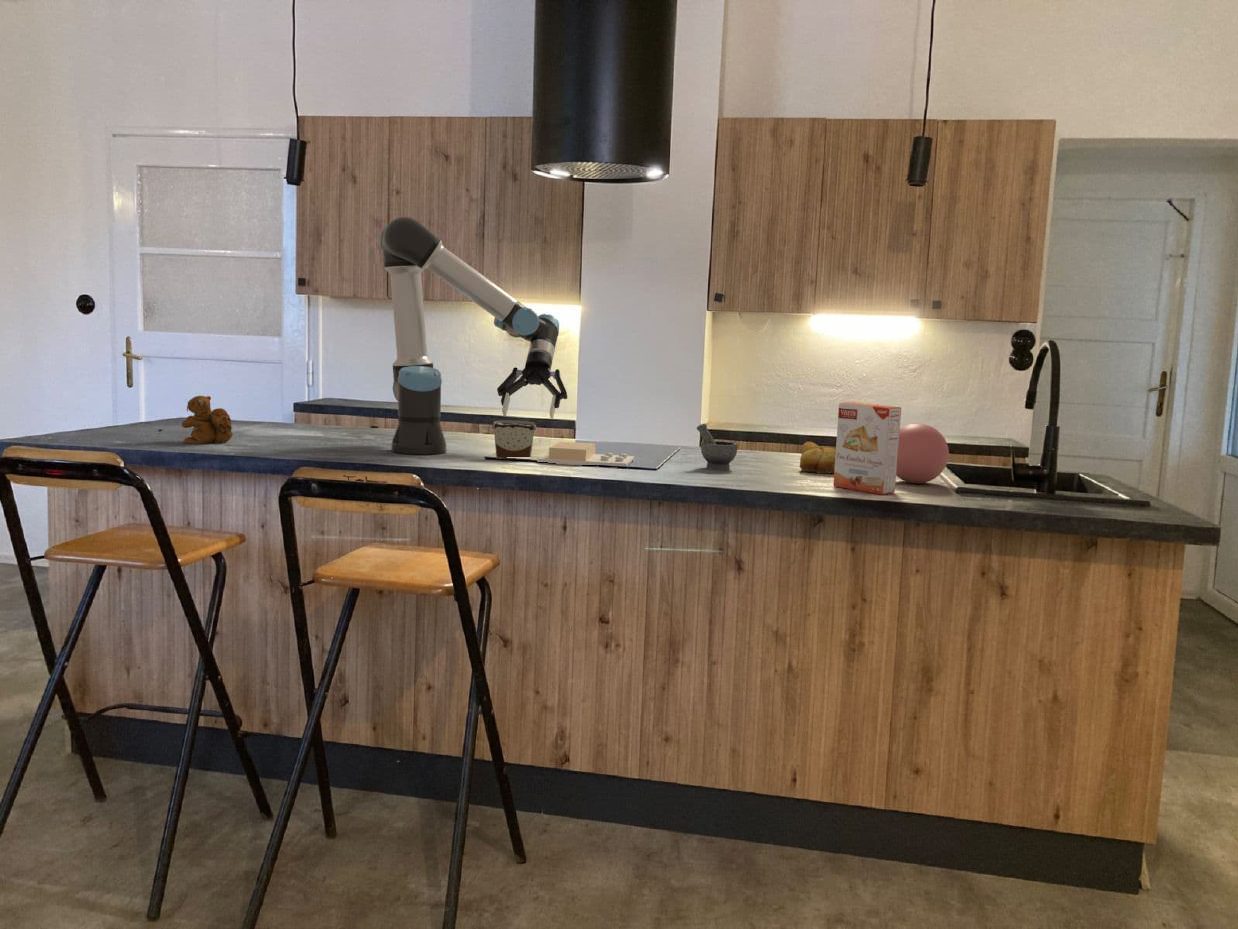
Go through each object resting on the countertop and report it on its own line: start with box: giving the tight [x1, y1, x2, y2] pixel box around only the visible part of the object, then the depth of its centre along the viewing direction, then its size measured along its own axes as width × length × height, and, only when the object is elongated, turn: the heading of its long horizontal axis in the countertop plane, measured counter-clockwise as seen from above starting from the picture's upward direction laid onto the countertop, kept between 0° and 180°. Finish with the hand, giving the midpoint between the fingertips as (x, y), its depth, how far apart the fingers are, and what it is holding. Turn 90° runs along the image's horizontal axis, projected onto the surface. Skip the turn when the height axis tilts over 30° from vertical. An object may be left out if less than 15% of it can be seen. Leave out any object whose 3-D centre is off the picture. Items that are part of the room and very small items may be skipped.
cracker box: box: [832, 401, 902, 496], centre depth 245 cm, size 14×6×21 cm, turn 45°
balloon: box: [896, 423, 950, 485], centre depth 263 cm, size 15×20×15 cm
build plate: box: [536, 441, 635, 466], centre depth 277 cm, size 24×16×4 cm, turn 82°
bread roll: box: [799, 440, 836, 474], centre depth 275 cm, size 13×10×8 cm
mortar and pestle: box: [696, 422, 739, 471], centre depth 274 cm, size 11×9×12 cm
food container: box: [491, 420, 537, 459], centre depth 280 cm, size 12×6×10 cm, turn 84°
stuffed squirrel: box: [181, 395, 234, 445], centre depth 286 cm, size 10×14×13 cm
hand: (527, 414), depth 286 cm, fingers open, 13 cm apart
